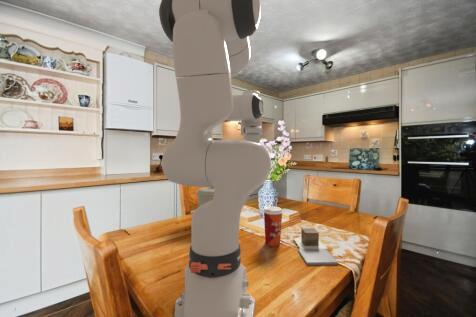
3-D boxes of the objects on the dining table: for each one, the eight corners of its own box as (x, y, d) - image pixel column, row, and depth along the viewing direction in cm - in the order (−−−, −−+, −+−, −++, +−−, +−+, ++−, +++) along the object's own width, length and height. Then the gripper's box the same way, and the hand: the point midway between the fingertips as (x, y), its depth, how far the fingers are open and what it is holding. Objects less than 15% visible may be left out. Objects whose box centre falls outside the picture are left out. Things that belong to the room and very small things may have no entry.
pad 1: (327, 250, 83) (327, 248, 83) (300, 251, 82) (300, 248, 82) (317, 239, 93) (317, 238, 93) (293, 240, 92) (293, 238, 92)
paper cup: (275, 249, 84) (275, 212, 83) (259, 243, 89) (259, 208, 88) (286, 243, 89) (286, 208, 89) (270, 238, 95) (270, 204, 94)
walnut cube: (318, 245, 85) (318, 232, 85) (305, 245, 85) (305, 232, 85) (313, 240, 90) (313, 228, 90) (301, 240, 90) (301, 228, 90)
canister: (189, 223, 114) (189, 181, 113) (217, 216, 126) (217, 178, 125) (210, 232, 101) (209, 185, 100) (239, 223, 113) (239, 182, 112)
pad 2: (338, 264, 73) (338, 262, 73) (307, 264, 72) (307, 262, 72) (325, 250, 83) (325, 248, 83) (298, 251, 82) (298, 248, 82)
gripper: (242, 132, 105) (242, 162, 105) (245, 128, 84) (245, 165, 85) (256, 132, 105) (256, 162, 105) (262, 128, 84) (262, 165, 85)
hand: (251, 163), depth 95 cm, fingers open, 8 cm apart
